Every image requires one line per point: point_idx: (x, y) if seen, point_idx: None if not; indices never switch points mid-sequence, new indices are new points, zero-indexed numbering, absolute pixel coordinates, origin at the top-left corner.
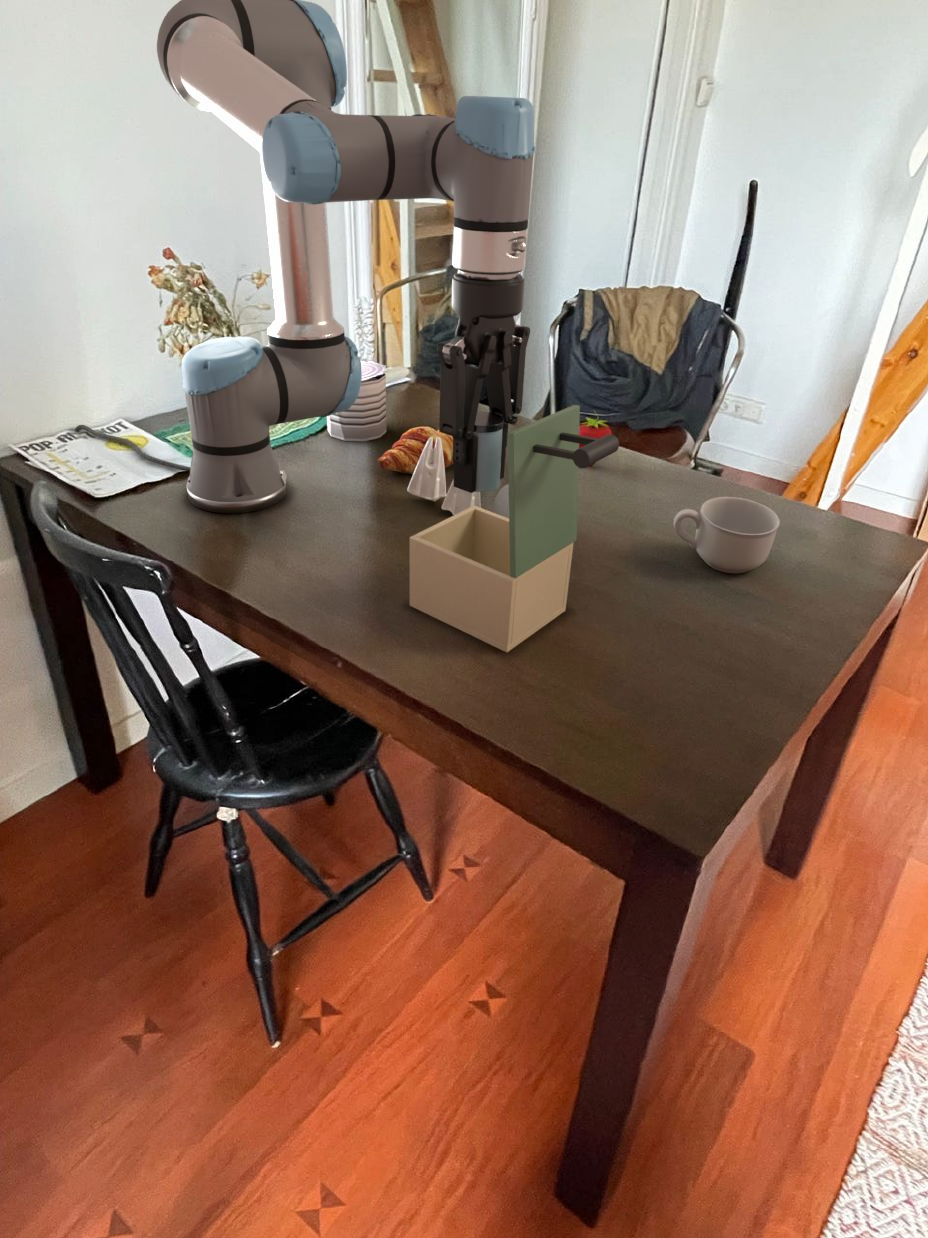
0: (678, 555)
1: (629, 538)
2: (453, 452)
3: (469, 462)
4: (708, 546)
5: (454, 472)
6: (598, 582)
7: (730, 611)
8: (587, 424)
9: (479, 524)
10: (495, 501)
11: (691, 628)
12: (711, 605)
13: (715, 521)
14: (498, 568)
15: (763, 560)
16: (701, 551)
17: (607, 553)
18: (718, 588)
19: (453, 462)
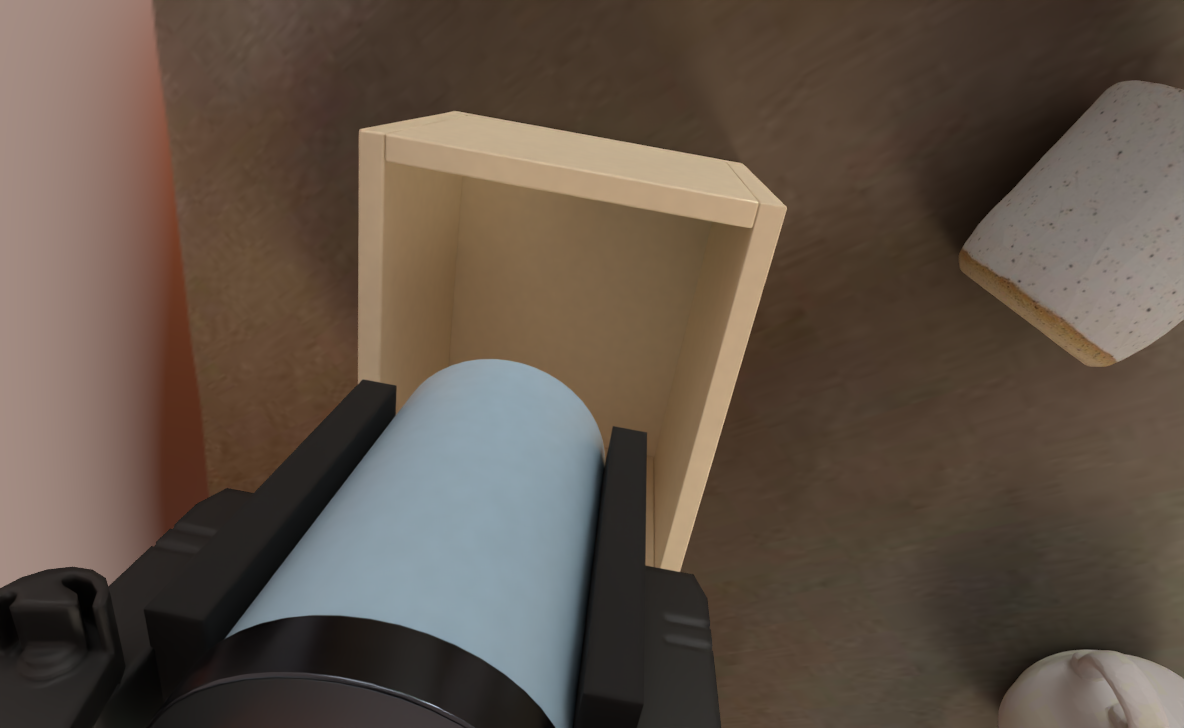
0: (1076, 599)
1: (1150, 482)
2: (162, 544)
3: None
4: (1035, 717)
5: (323, 423)
6: (841, 484)
7: (837, 711)
8: None
9: (737, 241)
10: (1151, 94)
11: (733, 668)
12: (845, 684)
13: None
14: (700, 292)
15: None
16: (1041, 683)
17: (1023, 458)
18: (929, 685)
19: (220, 493)
